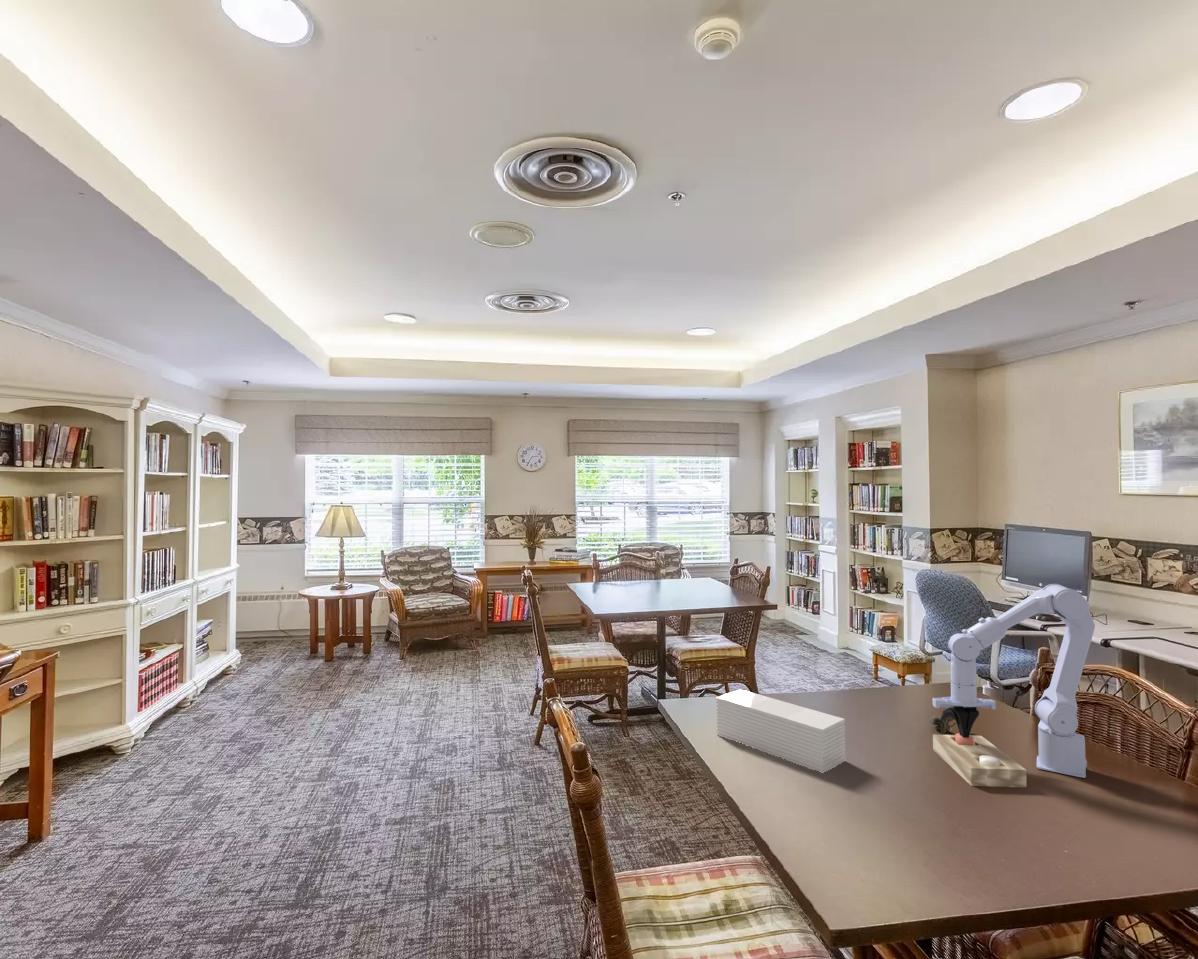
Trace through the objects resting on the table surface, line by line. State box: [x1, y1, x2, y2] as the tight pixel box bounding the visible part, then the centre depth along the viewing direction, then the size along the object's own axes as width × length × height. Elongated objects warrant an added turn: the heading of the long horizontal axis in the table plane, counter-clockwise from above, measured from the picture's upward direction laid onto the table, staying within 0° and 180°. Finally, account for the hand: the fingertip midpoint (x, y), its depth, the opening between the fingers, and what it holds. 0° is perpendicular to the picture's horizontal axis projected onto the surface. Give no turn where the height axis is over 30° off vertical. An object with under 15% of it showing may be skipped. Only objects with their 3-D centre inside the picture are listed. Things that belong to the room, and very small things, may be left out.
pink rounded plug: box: [954, 732, 974, 745], centre depth 161 cm, size 4×4×4 cm
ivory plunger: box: [979, 755, 999, 766], centre depth 149 cm, size 4×4×4 cm
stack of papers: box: [716, 688, 846, 774], centre depth 167 cm, size 32×11×11 cm, turn 41°
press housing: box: [932, 734, 1027, 789], centre depth 155 cm, size 12×20×4 cm, turn 175°
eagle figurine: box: [928, 707, 957, 735], centre depth 178 cm, size 8×7×9 cm
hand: (964, 736), depth 161 cm, fingers closed, pressing on pink rounded plug
